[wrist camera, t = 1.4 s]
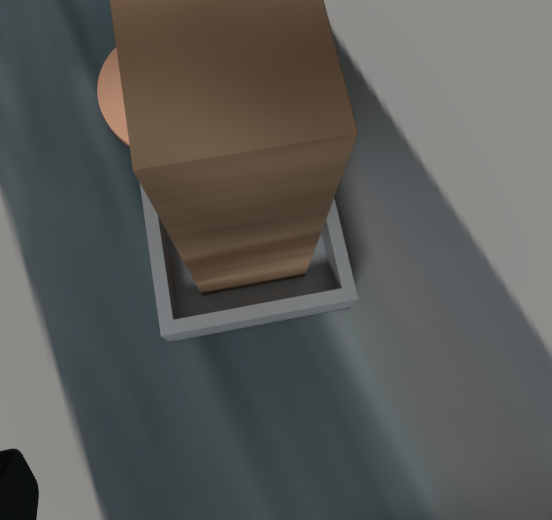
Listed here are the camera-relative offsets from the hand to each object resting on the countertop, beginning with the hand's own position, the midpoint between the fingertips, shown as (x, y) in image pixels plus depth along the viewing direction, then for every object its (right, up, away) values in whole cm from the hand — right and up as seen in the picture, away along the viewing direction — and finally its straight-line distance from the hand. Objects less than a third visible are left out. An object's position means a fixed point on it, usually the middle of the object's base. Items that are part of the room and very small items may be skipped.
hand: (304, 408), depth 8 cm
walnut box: (-2, +4, +17) cm, 18 cm away
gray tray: (-2, +3, +17) cm, 18 cm away
